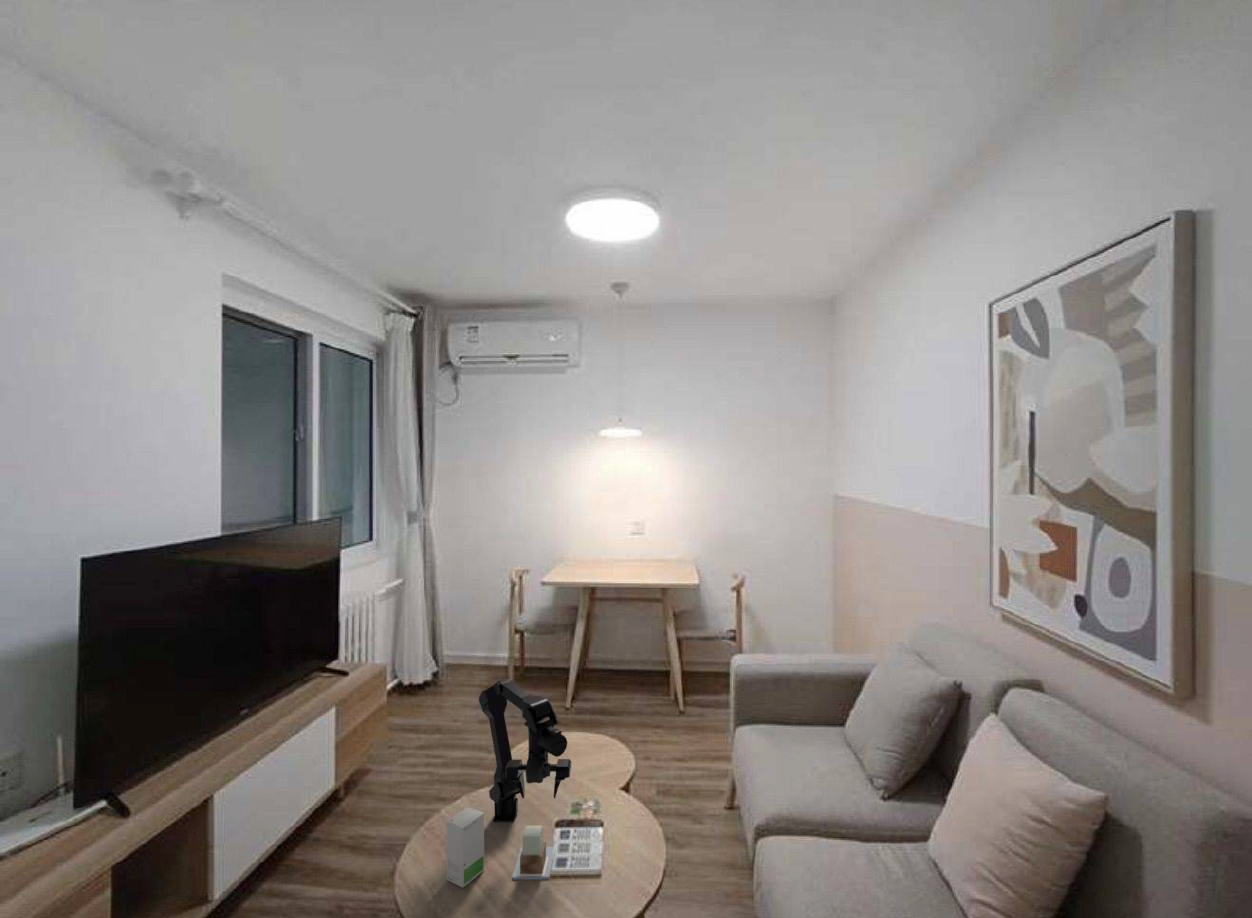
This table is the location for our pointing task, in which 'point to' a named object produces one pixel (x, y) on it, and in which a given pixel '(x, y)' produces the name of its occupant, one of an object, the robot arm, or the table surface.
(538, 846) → the sage block
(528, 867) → the walnut block
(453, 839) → the skincare box
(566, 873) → the table surface
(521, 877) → the board
